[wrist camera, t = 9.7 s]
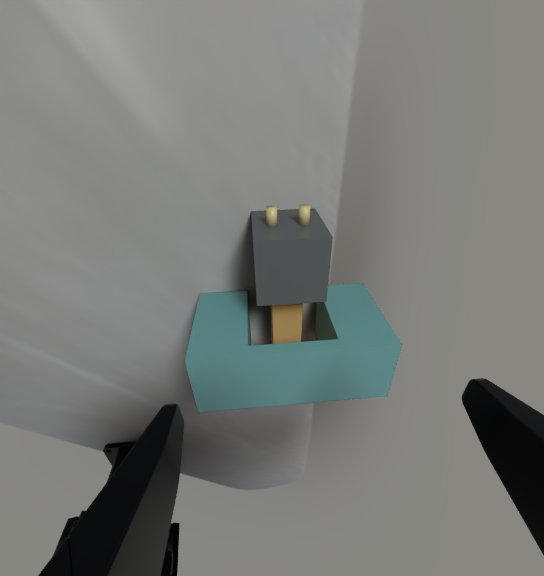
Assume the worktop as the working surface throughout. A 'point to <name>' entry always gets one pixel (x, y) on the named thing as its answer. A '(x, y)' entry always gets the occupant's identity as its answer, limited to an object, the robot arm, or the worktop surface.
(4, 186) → the worktop surface
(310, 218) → the plug
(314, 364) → the housing
